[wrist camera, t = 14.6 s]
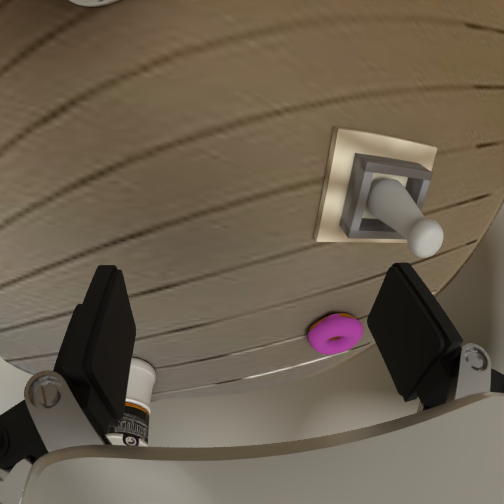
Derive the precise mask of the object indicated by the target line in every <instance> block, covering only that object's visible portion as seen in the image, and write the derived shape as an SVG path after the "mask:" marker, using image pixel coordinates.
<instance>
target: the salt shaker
mask: <svg viewBox="0 0 504 504" xmlns="http://www.w3.org/2000/svg"><path fill="white" fill-rule="evenodd" d="M367 204H368V207H369V210H370V212H371V214H372V215H374V216H375V217H376V218H378V219H379V220H381V221H382V222H384V223H385V224H387V225H388V226H390V227H391V228H393V229H394V230H396V231H397V232H398V233H400V234H401V235H403V236H404V237H405V238H407V242H408V246H409V248H410V250H411V251H412V252H413V253H414V254H415V255H417V256H418V257H422V258H426V257H429V256H431V255H433V254H434V253H436V252H437V251H438V250H439V248H440V247H441V245H442V241H443V237H444V236H443V230H442V229H441V227H440V226H439V225H438V223H437V222H435V221H434V220H433V219H428V218H425V217H424V215H423V214H422V212H421V211H420V210H419V208H418V206H417V205H416V203H415V202H414V200H413V199H412V197H411V196H410V194H409V193H408V192H407V190H406V189H405V187H404V186H403V185H402V184H401V183H400V182H399V181H398V180H395V179H390V178H387V179H379V180H375V181H374V182H373V183H372V184H371V186H370V189H369V193H368V202H367Z"/></svg>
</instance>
